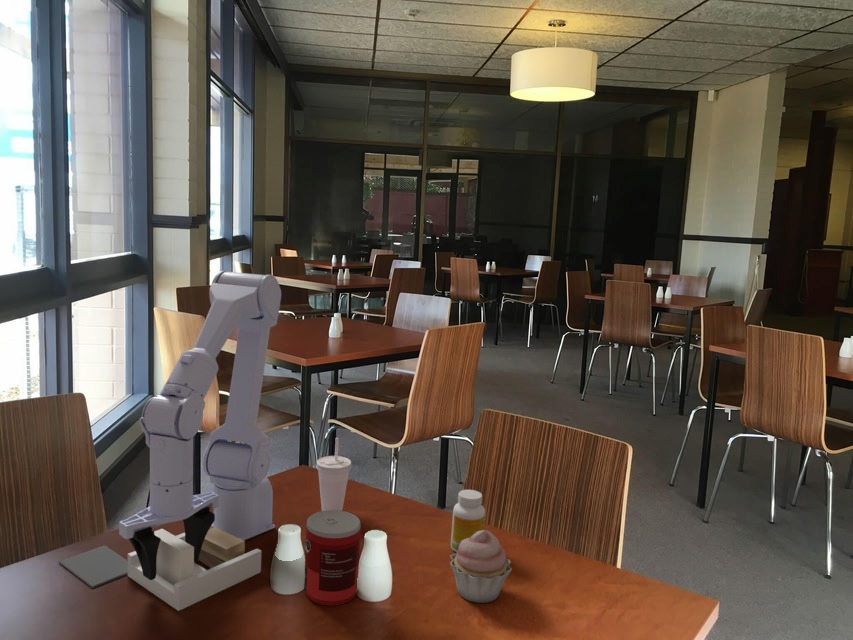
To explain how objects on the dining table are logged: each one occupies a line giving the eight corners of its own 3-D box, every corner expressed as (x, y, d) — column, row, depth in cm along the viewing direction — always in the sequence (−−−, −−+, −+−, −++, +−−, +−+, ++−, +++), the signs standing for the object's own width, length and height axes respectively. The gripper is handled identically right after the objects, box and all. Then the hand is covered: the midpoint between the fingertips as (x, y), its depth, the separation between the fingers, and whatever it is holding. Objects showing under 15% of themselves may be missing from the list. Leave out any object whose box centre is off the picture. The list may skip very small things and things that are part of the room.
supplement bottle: (485, 556, 113) (490, 500, 111) (453, 556, 112) (457, 501, 111) (478, 540, 118) (482, 487, 117) (447, 541, 117) (451, 487, 116)
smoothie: (356, 510, 127) (359, 438, 125) (334, 522, 122) (337, 447, 119) (329, 501, 130) (332, 431, 128) (307, 512, 125) (309, 439, 123)
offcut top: (214, 539, 109) (214, 527, 108) (244, 553, 105) (244, 540, 105) (196, 546, 106) (196, 534, 106) (226, 561, 102) (226, 549, 102)
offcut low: (213, 551, 110) (213, 537, 109) (247, 572, 104) (247, 557, 104) (193, 559, 107) (194, 544, 107) (227, 581, 101) (227, 565, 101)
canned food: (326, 572, 105) (328, 504, 103) (368, 589, 101) (372, 519, 99) (292, 594, 98) (294, 522, 97) (335, 613, 94) (339, 539, 93)
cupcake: (455, 612, 96) (460, 546, 95) (441, 577, 106) (445, 516, 104) (518, 608, 98) (524, 543, 97) (499, 574, 107) (504, 514, 106)
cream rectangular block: (162, 572, 102) (162, 528, 101) (193, 592, 97) (194, 546, 96) (149, 577, 100) (149, 532, 99) (180, 598, 96) (181, 551, 95)
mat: (104, 546, 108) (104, 545, 108) (138, 569, 102) (138, 567, 102) (59, 563, 103) (59, 561, 103) (92, 588, 97) (92, 586, 97)
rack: (209, 543, 111) (209, 523, 111) (260, 572, 104) (261, 550, 103) (127, 576, 100) (127, 553, 100) (178, 611, 93) (178, 587, 92)
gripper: (199, 458, 104) (198, 541, 107) (107, 484, 93) (108, 576, 95) (228, 470, 100) (226, 557, 102) (134, 499, 89) (135, 596, 91)
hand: (171, 567), depth 98 cm, fingers open, 6 cm apart
